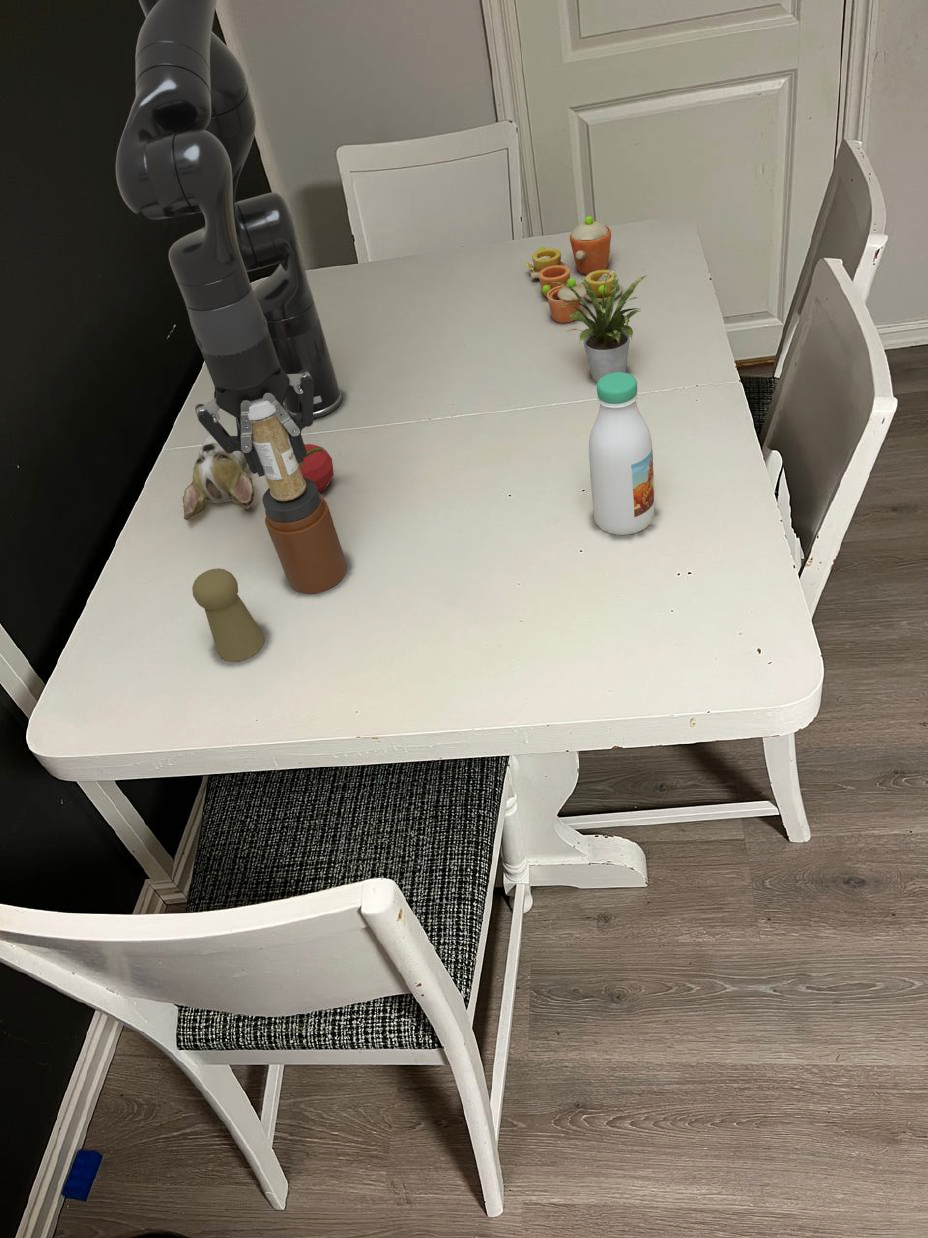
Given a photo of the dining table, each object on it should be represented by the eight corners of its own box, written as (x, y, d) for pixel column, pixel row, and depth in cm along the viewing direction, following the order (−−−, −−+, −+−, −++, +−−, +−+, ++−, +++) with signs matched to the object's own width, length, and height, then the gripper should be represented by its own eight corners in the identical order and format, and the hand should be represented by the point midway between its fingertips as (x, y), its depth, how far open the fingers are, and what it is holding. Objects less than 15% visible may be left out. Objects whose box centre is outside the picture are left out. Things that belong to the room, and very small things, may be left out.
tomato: (340, 498, 135) (326, 453, 130) (287, 510, 135) (271, 466, 130) (336, 467, 141) (323, 423, 136) (285, 479, 141) (270, 436, 136)
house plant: (542, 397, 146) (530, 297, 135) (569, 351, 155) (560, 254, 143) (633, 403, 141) (629, 300, 129) (656, 355, 149) (653, 255, 138)
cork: (219, 631, 119) (188, 565, 111) (266, 622, 119) (237, 556, 111) (214, 665, 115) (181, 600, 107) (263, 657, 114) (233, 590, 107)
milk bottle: (616, 545, 119) (607, 407, 105) (582, 514, 124) (570, 380, 110) (666, 520, 120) (664, 381, 107) (631, 491, 126) (625, 356, 112)
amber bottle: (282, 566, 126) (251, 487, 118) (338, 545, 128) (312, 466, 119) (295, 601, 121) (264, 522, 112) (354, 580, 122) (328, 499, 113)
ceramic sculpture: (246, 411, 140) (238, 474, 129) (265, 457, 146) (259, 521, 136) (177, 424, 140) (163, 488, 130) (198, 470, 147) (187, 534, 136)
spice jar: (313, 491, 114) (281, 393, 105) (280, 507, 113) (244, 410, 104) (297, 475, 117) (264, 379, 108) (264, 491, 116) (228, 395, 107)
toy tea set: (525, 267, 180) (519, 216, 173) (606, 251, 179) (603, 200, 172) (545, 331, 161) (539, 277, 154) (636, 314, 160) (634, 258, 153)
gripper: (288, 301, 105) (328, 431, 116) (163, 340, 102) (217, 470, 114) (304, 327, 99) (344, 462, 111) (172, 370, 97) (227, 502, 109)
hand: (279, 465), depth 113 cm, fingers closed on spice jar, 4 cm apart
